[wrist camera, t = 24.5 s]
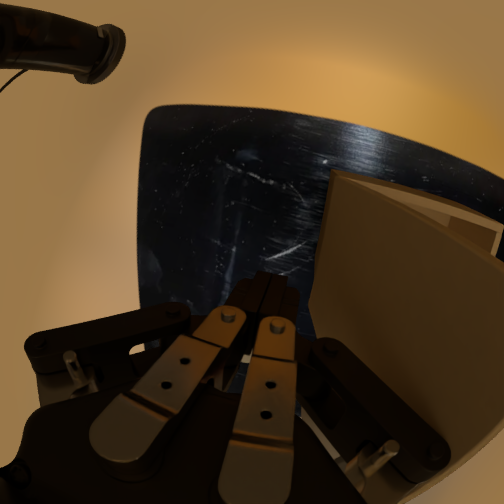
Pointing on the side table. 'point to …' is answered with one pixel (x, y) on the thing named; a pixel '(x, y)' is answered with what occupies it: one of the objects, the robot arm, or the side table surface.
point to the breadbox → (425, 211)
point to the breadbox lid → (415, 314)
